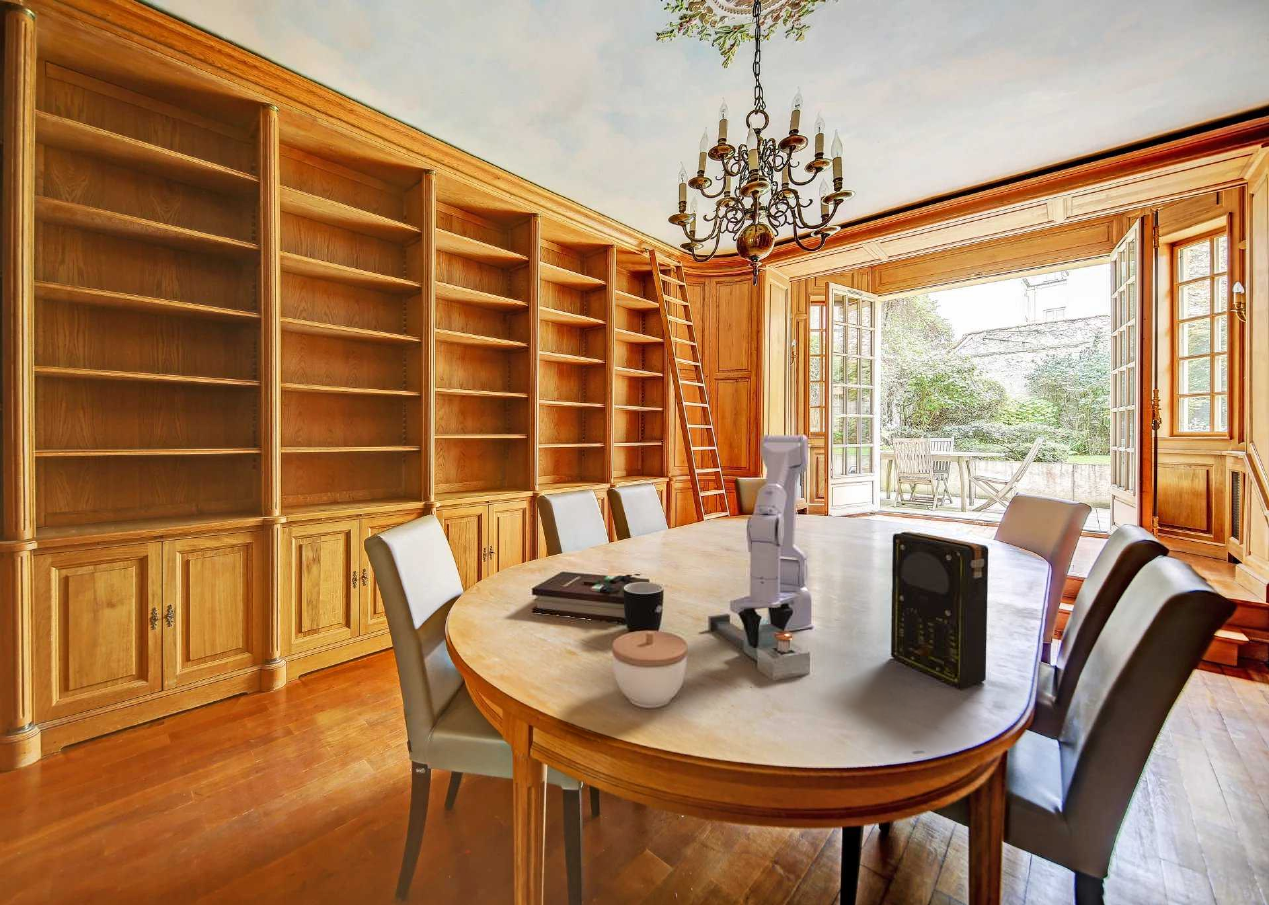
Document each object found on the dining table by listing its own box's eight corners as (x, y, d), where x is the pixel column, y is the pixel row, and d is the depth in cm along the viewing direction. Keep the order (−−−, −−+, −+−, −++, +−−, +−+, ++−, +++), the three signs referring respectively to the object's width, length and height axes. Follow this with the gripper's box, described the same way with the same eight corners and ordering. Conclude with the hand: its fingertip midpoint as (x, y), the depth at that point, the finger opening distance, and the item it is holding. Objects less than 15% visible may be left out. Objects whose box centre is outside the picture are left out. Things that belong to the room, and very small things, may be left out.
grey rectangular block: (792, 662, 103) (792, 642, 103) (809, 673, 99) (809, 652, 98) (757, 669, 100) (757, 648, 100) (773, 680, 96) (773, 658, 96)
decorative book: (556, 566, 150) (659, 575, 140) (556, 593, 150) (659, 604, 141) (520, 585, 131) (636, 596, 122) (521, 615, 132) (636, 629, 122)
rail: (727, 626, 123) (727, 613, 123) (787, 665, 102) (787, 649, 102) (708, 629, 121) (708, 616, 121) (765, 669, 100) (765, 653, 100)
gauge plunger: (785, 656, 101) (785, 629, 101) (795, 662, 98) (796, 635, 98) (771, 658, 100) (771, 631, 100) (781, 665, 97) (781, 638, 97)
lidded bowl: (611, 681, 96) (610, 620, 95) (680, 678, 96) (681, 618, 96) (613, 718, 83) (613, 648, 83) (693, 715, 84) (693, 646, 84)
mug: (659, 641, 114) (659, 594, 114) (618, 638, 116) (618, 591, 116) (668, 622, 126) (668, 579, 125) (631, 619, 128) (631, 577, 127)
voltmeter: (885, 658, 105) (886, 532, 105) (916, 651, 109) (918, 529, 108) (960, 693, 91) (963, 547, 90) (993, 684, 94) (996, 543, 94)
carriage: (763, 648, 109) (763, 620, 109) (781, 659, 104) (782, 630, 104) (743, 651, 108) (743, 623, 107) (760, 663, 102) (761, 633, 102)
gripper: (744, 584, 98) (744, 657, 99) (808, 577, 103) (808, 646, 104) (724, 575, 105) (724, 643, 105) (785, 568, 110) (785, 633, 110)
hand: (764, 644), depth 105 cm, fingers closed on carriage, 5 cm apart
